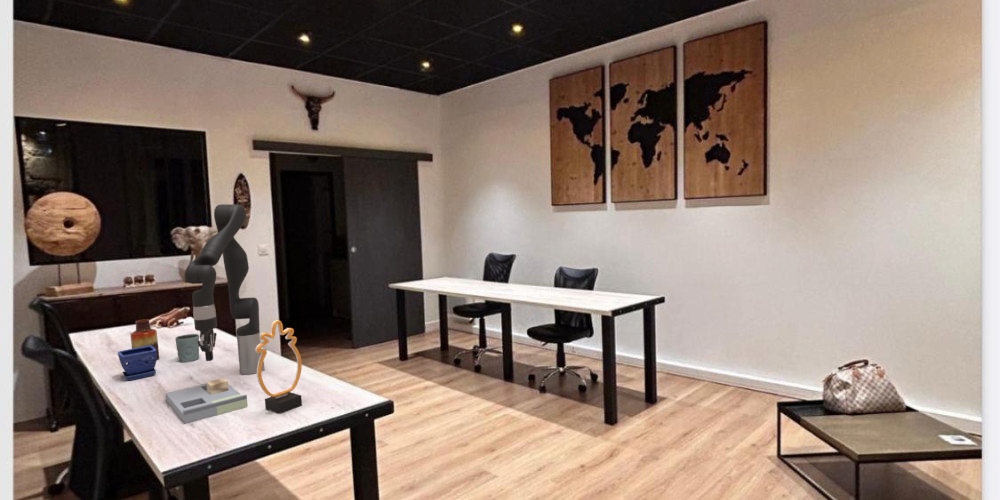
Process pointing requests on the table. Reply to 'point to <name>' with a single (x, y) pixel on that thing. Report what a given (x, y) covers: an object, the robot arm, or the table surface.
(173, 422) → the table surface
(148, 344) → the vase
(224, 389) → the beech block
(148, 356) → the flower pot
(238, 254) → the robot arm
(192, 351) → the teal cup
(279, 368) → the table surface
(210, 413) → the board
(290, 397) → the lamp
